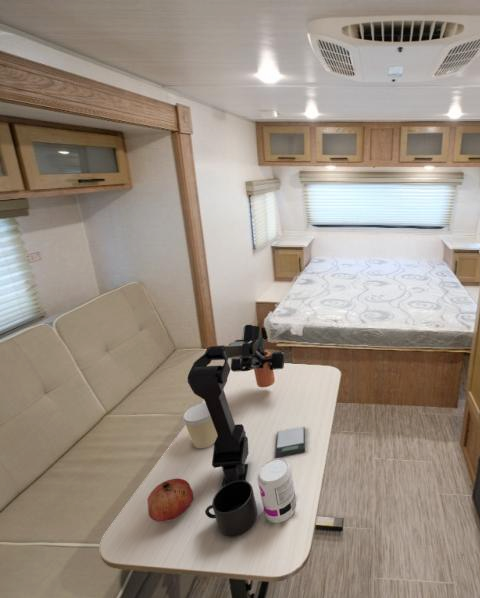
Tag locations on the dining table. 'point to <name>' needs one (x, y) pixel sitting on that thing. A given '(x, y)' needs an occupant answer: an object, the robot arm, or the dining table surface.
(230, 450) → the robot arm
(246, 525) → the mug
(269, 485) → the supplement can
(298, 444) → the scale
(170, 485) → the fruit
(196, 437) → the coffee cup
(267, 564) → the dining table surface
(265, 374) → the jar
